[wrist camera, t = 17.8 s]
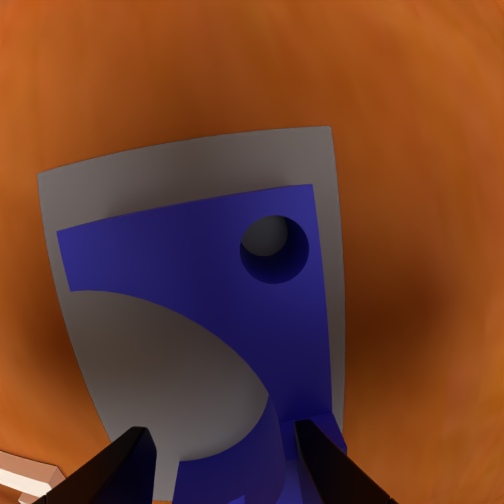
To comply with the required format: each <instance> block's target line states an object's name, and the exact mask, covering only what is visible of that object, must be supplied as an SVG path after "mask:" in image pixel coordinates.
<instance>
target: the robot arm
mask: <svg viewBox="0 0 504 504" xmlns="http://www.w3.org/2000/svg"><path fill="white" fill-rule="evenodd" d="M294 441H295V447H296V453H297V458H298V476H299V484H300V491H301V497H302V501H303V504H399V503H397V502H396V501H395V500H394V499H393V498H391V499H390V496H389V495H388V494H387V493H386V492H385V491H384V490H383V489H382V488H381V487H379V486H378V485H377V484H376V483H375V482H374V481H373V480H372V479H371V478H370V477H369V476H368V475H367V474H365V473H364V472H363V471H362V470H361V469H360V468H359V467H358V466H357V465H356V464H355V463H354V462H353V461H352V460H351V459H350V458H349V457H348V456H347V455H346V454H345V453H344V452H343V451H342V450H341V449H340V448H339V447H337V446H336V445H335V444H334V443H333V442H332V441H331V440H330V439H329V438H328V437H327V436H326V435H325V434H324V433H323V431H322V430H321V429H320V428H319V427H318V426H317V425H316V424H315V423H314V422H313V421H312V420H310V419H302V420H296V421H294ZM156 460H157V448H156V445H155V443H154V441H153V438H152V436H151V433H150V431H149V429H148V428H147V427H142V426H133V427H131V428H129V429H128V430H127V431H126V432H125V433H123V434H122V435H121V436H120V437H118V438H117V439H116V440H115V441H113V442H112V443H111V444H110V445H108V446H107V447H106V448H105V449H103V450H102V451H101V452H100V453H98V454H97V455H96V456H95V457H93V458H92V459H91V460H89V461H88V462H87V463H86V464H84V465H83V466H82V467H80V468H79V469H78V470H77V471H75V472H74V473H73V474H71V475H70V476H69V477H67V478H66V479H65V480H63V481H62V482H61V483H59V484H58V485H57V486H55V487H54V488H53V489H51V490H50V491H49V492H47V493H46V495H43V496H42V497H40V498H39V499H37V500H36V501H35V502H33V503H32V504H152V500H153V491H154V480H155V470H156Z"/></svg>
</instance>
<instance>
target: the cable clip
mask: <svg viewBox="0 0 504 504" xmlns="http://www.w3.org/2000/svg"><path fill="white" fill-rule="evenodd" d="M272 215H279V216H283V217H284V219H285V220H286V223H287V226H288V238H287V241H286V243H285V245H284V246H283V247H282V248H281V250H279V251H278V252H277V253H275V254H273V255H270V256H257V255H254V254H252V253H250V252H249V251H248V250H247V249H246V248H245V247H244V246H243V244H242V242H241V240H242V237H243V235H244V233H245V231H246V230H247V229H248V227H249V226H250V225H251V224H253V223H254V222H255V221H257V220H259V219H261V218H263V217H266V216H272ZM56 233H57V238H58V243H59V248H60V252H61V257H62V261H63V265H64V269H65V274H66V277H67V281H68V285H69V289H70V292H73V291H85V290H88V291H106V292H113V293H119V294H125V295H129V296H133V297H137V298H141V299H144V300H147V301H150V302H152V303H155V304H158V305H161V306H163V307H166V308H168V309H170V310H172V311H174V312H177V313H179V314H181V315H183V316H185V317H187V318H188V319H190V320H192V321H194V322H195V323H197V324H199V325H201V326H202V327H204V328H205V329H207V330H208V331H210V332H211V333H213V334H214V335H216V336H217V337H218V338H220V339H221V340H222V341H223V342H224V343H226V344H227V345H228V346H229V347H231V348H232V349H233V350H234V351H235V352H236V353H237V354H238V355H239V356H240V357H241V358H242V359H243V360H244V361H245V362H246V363H247V364H248V365H249V366H250V367H251V369H252V370H253V371H254V372H255V374H256V375H257V376H258V377H259V379H260V380H261V382H262V384H263V385H264V387H265V388H266V390H267V392H268V394H269V396H268V400H267V404H266V407H265V409H264V412H263V414H262V416H261V418H260V419H259V421H258V423H257V424H256V425H255V427H254V428H253V429H252V431H251V432H250V433H249V434H248V435H247V436H246V437H245V438H243V439H242V440H241V441H240V442H238V443H237V444H235V445H234V446H232V447H231V448H229V449H227V450H225V451H223V452H221V453H218V454H216V455H213V456H210V457H206V458H202V459H197V460H191V461H179V466H178V471H177V477H176V483H175V488H174V494H173V500H172V504H303V501H302V497H301V491H300V484H299V476H298V458H297V453H296V447H295V441H294V421H296V420H302V419H310V420H312V421H313V422H314V423H315V424H316V425H317V426H318V427H319V428H320V429H321V430H322V431H323V433H324V434H325V435H326V436H327V437H328V438H329V439H330V440H331V441H332V442H333V443H334V444H335V445H336V446H337V447H339V448H340V449H341V450H342V451H343V452H344V453H345V454H346V455H347V446H346V444H345V441H344V439H343V436H342V434H341V431H340V429H339V427H338V424H337V422H336V419H335V417H334V414H333V412H332V385H331V365H330V348H329V333H328V319H327V307H326V296H325V285H324V274H323V265H322V255H321V246H320V238H319V229H318V221H317V214H316V206H315V199H314V191H313V184H303V185H289V186H282V187H275V188H268V189H261V190H255V191H248V192H242V193H236V194H230V195H224V196H218V197H212V198H206V199H200V200H195V201H189V202H184V203H178V204H173V205H168V206H163V207H157V208H152V209H147V210H142V211H138V212H133V213H128V214H123V215H119V216H114V217H109V218H105V219H101V220H97V221H93V222H89V223H85V224H81V225H78V226H74V227H70V228H66V229H63V230H59V231H56Z"/></svg>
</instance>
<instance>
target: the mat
mask: <svg viewBox="0 0 504 504" xmlns="http://www.w3.org/2000/svg"><path fill="white" fill-rule="evenodd" d="M37 179H38V190H39V199H40V207H41V214H42V221H43V228H44V234H45V240H46V245H47V251H48V256H49V261H50V266H51V270H52V275H53V279H54V284H55V288H56V292H57V296H58V300H59V304H60V307H61V311H62V315H63V318H64V322H65V325H66V328H67V332H68V335H69V338H70V341H71V344H72V347H73V350H74V353H75V356H76V359H77V362H78V365H79V368H80V370H81V373H82V376H83V378H84V381H85V383H86V386H87V389H88V391H89V394H90V396H91V398H92V401H93V403H94V406H95V408H96V410H97V413H98V415H99V417H100V419H101V421H102V424H103V426H104V428H105V430H106V432H107V434H108V436H109V438H110V440H111V443H112V442H113V441H115V440H116V439H117V438H118V437H120V436H121V435H122V434H123V433H125V432H126V431H127V430H128V429H129V428H131V427H133V426H142V427H147V428H148V429H149V431H150V433H151V436H152V438H153V441H154V443H155V445H156V448H157V460H156V470H155V480H154V491H153V500H160V501H172V500H173V494H174V488H175V483H176V477H177V471H178V466H179V461H191V460H197V459H202V458H206V457H210V456H213V455H216V454H218V453H221V452H223V451H225V450H227V449H229V448H231V447H232V446H234V445H235V444H237V443H238V442H240V441H241V440H242V439H243V438H245V437H246V436H247V435H248V434H249V433H250V432H251V431H252V429H253V428H254V427H255V425H256V424H257V423H258V421H259V419H260V418H261V416H262V414H263V412H264V409H265V407H266V404H267V400H268V396H269V394H268V392H267V390H266V388H265V387H264V385H263V384H262V382H261V380H260V379H259V377H258V376H257V375H256V374H255V372H254V371H253V370H252V369H251V367H250V366H249V365H248V364H247V363H246V362H245V361H244V360H243V359H242V358H241V357H240V356H239V355H238V354H237V353H236V352H235V351H234V350H233V349H232V348H231V347H229V346H228V345H227V344H226V343H224V342H223V341H222V340H221V339H220V338H218V337H217V336H216V335H214V334H213V333H211V332H210V331H208V330H207V329H205V328H204V327H202V326H201V325H199V324H197V323H195V322H194V321H192V320H190V319H188V318H187V317H185V316H183V315H181V314H179V313H177V312H174V311H172V310H170V309H168V308H166V307H163V306H161V305H158V304H155V303H152V302H150V301H147V300H144V299H141V298H137V297H133V296H129V295H125V294H119V293H113V292H106V291H88V290H85V291H73V292H70V289H69V285H68V281H67V277H66V274H65V269H64V265H63V261H62V257H61V252H60V248H59V243H58V238H57V233H56V231H59V230H63V229H66V228H70V227H74V226H78V225H81V224H85V223H89V222H93V221H97V220H101V219H105V218H109V217H114V216H119V215H123V214H128V213H133V212H138V211H142V210H147V209H152V208H157V207H163V206H168V205H173V204H178V203H184V202H189V201H195V200H200V199H206V198H212V197H218V196H224V195H230V194H236V193H242V192H248V191H255V190H261V189H268V188H275V187H282V186H289V185H303V184H313V191H314V199H315V206H316V214H317V221H318V229H319V238H320V246H321V255H322V265H323V274H324V285H325V296H326V307H327V319H328V333H329V348H330V365H331V385H332V412H333V414H334V417H335V419H336V422H337V424H338V427H339V429H340V431H341V434H342V429H343V412H344V389H345V287H344V262H343V244H342V229H341V215H340V203H339V192H338V182H337V172H336V163H335V154H334V146H333V138H332V131H331V126H316V127H298V128H283V129H271V130H260V131H250V132H240V133H231V134H223V135H216V136H208V137H201V138H194V139H188V140H181V141H175V142H169V143H164V144H158V145H153V146H147V147H142V148H137V149H132V150H127V151H123V152H118V153H114V154H109V155H105V156H101V157H96V158H92V159H88V160H84V161H80V162H76V163H73V164H69V165H65V166H61V167H58V168H54V169H51V170H47V171H44V172H41V173H37ZM287 238H288V226H287V223H286V220H285V219H284V217H283V216H279V215H272V216H266V217H263V218H261V219H259V220H257V221H255V222H254V223H253V224H251V225H250V226H249V227H248V229H247V230H246V231H245V233H244V235H243V237H242V240H241V242H242V244H243V246H244V247H245V248H246V249H247V250H248V251H249V252H250V253H252V254H254V255H257V256H270V255H273V254H275V253H277V252H278V251H279V250H281V248H282V247H283V246H284V245H285V243H286V241H287Z"/></svg>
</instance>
